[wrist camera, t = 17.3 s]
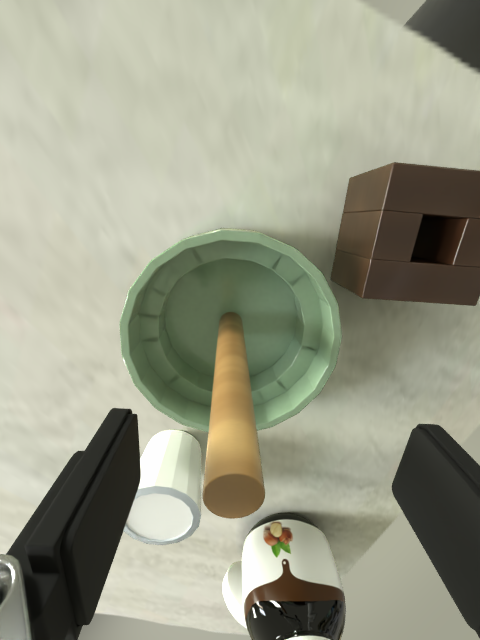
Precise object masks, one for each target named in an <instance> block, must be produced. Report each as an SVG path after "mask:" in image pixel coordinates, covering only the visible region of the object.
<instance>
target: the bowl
mask: <svg viewBox="0 0 480 640" xmlns="http://www.w3.org/2000/svg"><path fill="white" fill-rule="evenodd" d="M227 312H234V313H237V314H238V315H239V316H240V317H241V319H242V323H243V330H244V338H245V346H246V353H247V361H248V368H249V376H250V383H251V391H252V398H253V406H254V413H255V421H256V428H257V431H258V430H262V429H267V428H270V427H273V426H275V425H277V424H279V423H281V422H283V421H285V420H286V419H288V418H290V417H292V416H294V415H296V414H297V413H299V412H300V411H301V410H302V409H303V408H304V407H306V406H307V405H308V404H309V403H310V402H311V401H312V400H313V399H314V398H315V397H316V396H317V395H319V394H320V392H321V390H322V389H323V387H324V385H325V384H326V382H327V380H328V379H329V377H330V375H331V373H332V372H333V370H334V368H335V366H336V362H337V358H338V353H339V349H340V344H341V339H342V331H341V323H340V315H339V307H338V302H337V300H336V299H335V297H334V295H333V293H332V291H331V289H330V287H329V285H328V283H327V281H326V279H325V277H324V275H323V274H322V272H321V271H320V270H319V269H318V268H316V267H315V266H314V265H313V264H312V263H311V262H310V261H309V260H308V259H307V258H306V257H305V256H304V255H303V254H301V253H300V252H299V251H298V250H297V249H295V248H294V247H292V246H289V245H287V244H285V243H283V242H280V241H278V240H276V239H273V238H271V237H269V236H267V235H264V234H262V233H259V232H257V231H254V230H244V229H231V228H220V229H216V230H212V231H208V232H204V233H200V234H197V235H193V236H190V237H188V238H185V239H183V240H181V241H180V242H178V243H176V244H175V245H173V246H172V247H170V248H169V249H167V250H166V251H164V252H163V253H161V254H160V255H158V256H157V257H155V258H154V259H152V260H151V261H150V262H149V263H148V265H147V266H146V268H145V269H144V270H143V272H142V273H141V274H140V276H139V277H138V278H137V280H136V281H135V282H134V284H133V285H132V286H131V288H130V289H129V291H128V295H127V298H126V302H125V305H124V309H123V312H122V316H121V319H120V338H121V352H122V357H123V360H124V362H125V364H126V367H127V369H128V371H129V374H130V376H131V378H132V380H133V383H134V384H135V386H136V387H137V388H138V390H139V391H140V392H141V393H142V394H143V395H144V396H145V397H146V399H147V400H148V401H149V402H150V403H151V404H152V405H153V406H154V408H156V409H157V410H159V411H160V412H162V413H164V414H165V415H167V416H168V417H170V418H172V419H173V420H175V421H176V422H178V423H180V424H182V425H185V426H188V427H192V428H195V429H198V430H202V431H205V432H208V433H209V422H210V412H211V402H212V391H213V381H214V371H215V360H216V350H217V339H218V329H219V320H220V318H221V316H222V315H223V314H225V313H227Z"/></svg>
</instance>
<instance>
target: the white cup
mask: <svg viewBox="0 0 480 640" xmlns="http://www.w3.org/2000/svg"><path fill="white" fill-rule="evenodd" d="M140 468H141V479H140V484H139V487H138V490H137V493H136V496H135V499H134V502H133V505H132V507H131V510H130V513H129V516H128V519H127V522H126V524H125V527H124V530H123V531H124V532H125V533H127V534H128V535H129V536H130V537H132V538H133V539H136V540H138V541H141V542H144V543H146V544H156V545H166V544H172V543H177V542H180V541H182V540H184V539H186V538H188V537H190V536H191V535H192V534H193V533H194V531H195V530H196V529H197V528H198V527H199V523H200V518H201V448H200V445H199V442H198V441H197V440H196V439H195V438H194V437H193V436H192V435H190V434H188V433H186V432H184V431H180V430H167V431H162V432H160V433H158V434H157V435H155V436H153V437H152V439H151V440H150V442H149V443H148V445H147V447H146V449H145V451H144V453H143V455H142V457H141V459H140Z"/></svg>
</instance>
